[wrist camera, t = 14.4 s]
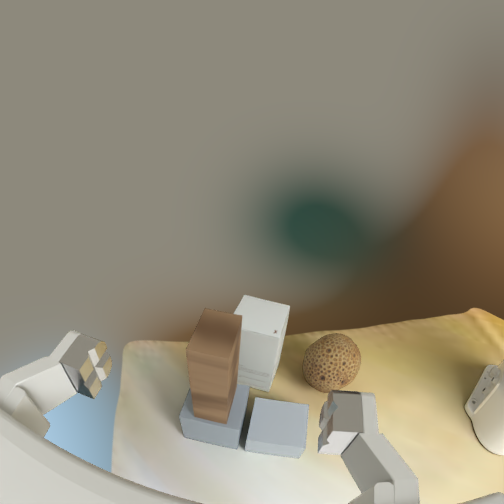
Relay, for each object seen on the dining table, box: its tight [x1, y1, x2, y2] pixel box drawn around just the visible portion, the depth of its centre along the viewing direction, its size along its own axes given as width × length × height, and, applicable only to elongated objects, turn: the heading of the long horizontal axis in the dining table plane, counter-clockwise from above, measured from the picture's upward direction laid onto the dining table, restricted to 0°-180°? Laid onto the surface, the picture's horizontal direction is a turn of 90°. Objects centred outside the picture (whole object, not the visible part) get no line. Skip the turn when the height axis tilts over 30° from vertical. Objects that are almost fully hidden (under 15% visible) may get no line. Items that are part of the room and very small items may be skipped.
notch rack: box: [179, 384, 309, 458], centre depth 36 cm, size 7×16×6 cm, turn 80°
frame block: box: [186, 308, 242, 424], centre depth 32 cm, size 6×4×13 cm
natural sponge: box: [303, 333, 361, 393], centre depth 44 cm, size 9×9×10 cm
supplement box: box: [233, 295, 290, 392], centre depth 45 cm, size 7×7×13 cm
